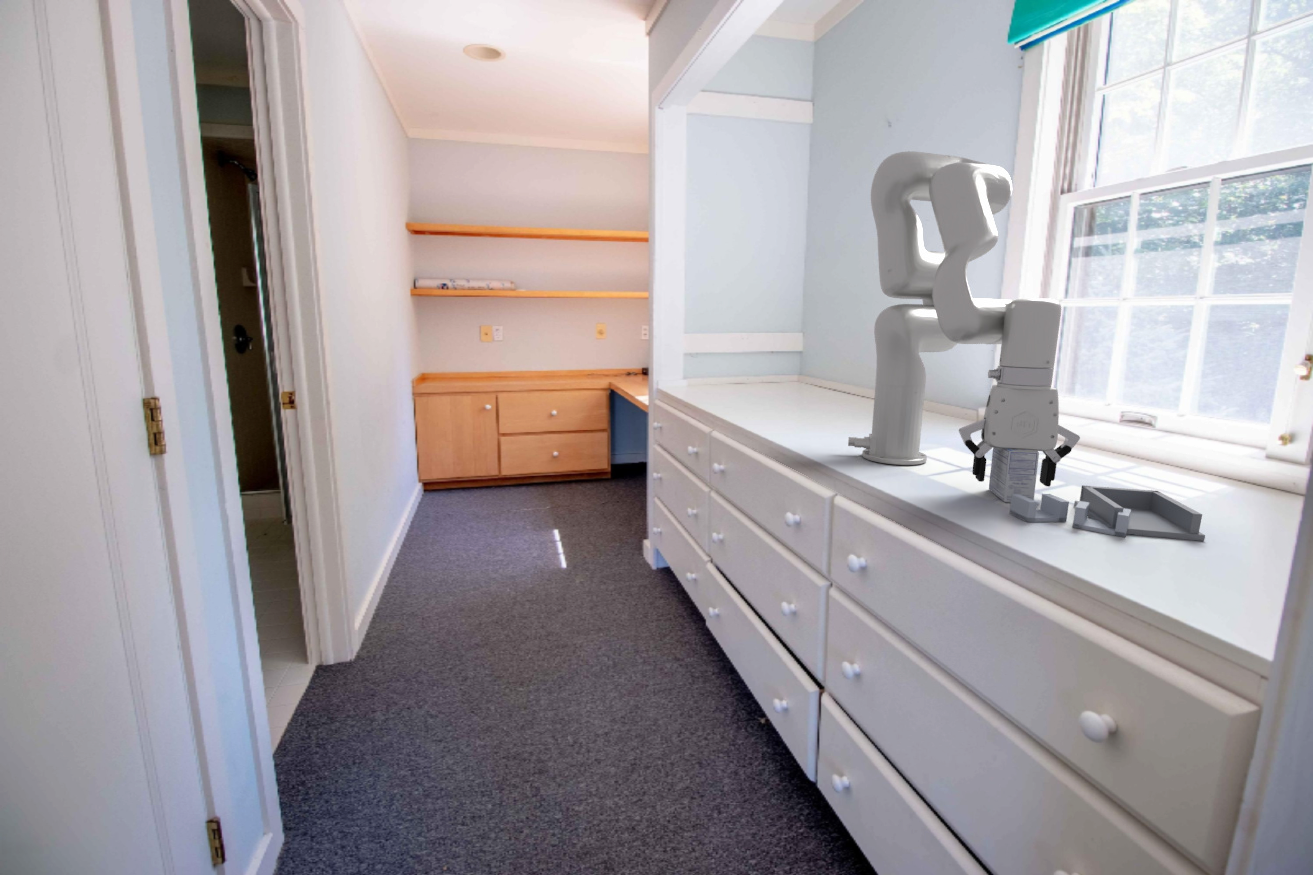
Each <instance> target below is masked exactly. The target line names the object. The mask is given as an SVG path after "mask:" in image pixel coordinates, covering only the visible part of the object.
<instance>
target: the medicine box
mask: <svg viewBox="0 0 1313 875" xmlns="http://www.w3.org/2000/svg"><path fill="white" fill-rule="evenodd" d="M1039 452H1040V451H1036V450H1027V449H999V448H992V455H991V466H990V475H989V485H988V490H989V491H990V492H992V493H993V494H994V495H995V496H997V497H998V498H999V499H1000V500H1001V501H1003V503H1004V502H1005V503H1008V504H1009V503H1010V504H1011V497H1012V494H1020V495H1022V496H1025V497H1027V498H1029V499H1032V500H1034V501H1035V490H1036V482H1037V476H1038V475H1037V474H1038V466H1039V457H1040V456H1039V455H1040V453H1039Z"/></svg>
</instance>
